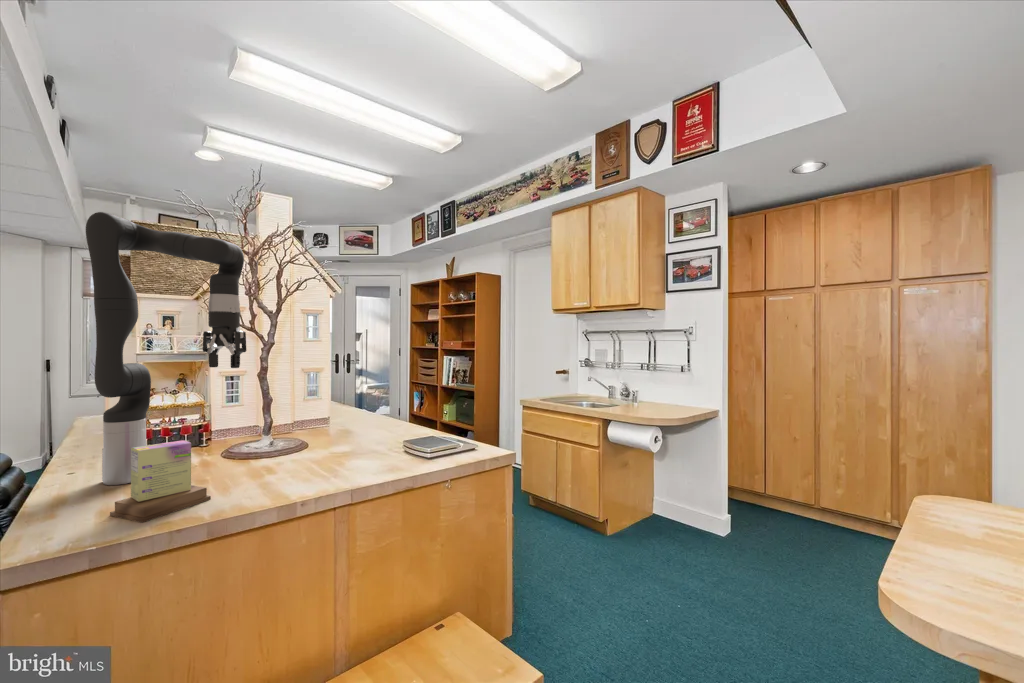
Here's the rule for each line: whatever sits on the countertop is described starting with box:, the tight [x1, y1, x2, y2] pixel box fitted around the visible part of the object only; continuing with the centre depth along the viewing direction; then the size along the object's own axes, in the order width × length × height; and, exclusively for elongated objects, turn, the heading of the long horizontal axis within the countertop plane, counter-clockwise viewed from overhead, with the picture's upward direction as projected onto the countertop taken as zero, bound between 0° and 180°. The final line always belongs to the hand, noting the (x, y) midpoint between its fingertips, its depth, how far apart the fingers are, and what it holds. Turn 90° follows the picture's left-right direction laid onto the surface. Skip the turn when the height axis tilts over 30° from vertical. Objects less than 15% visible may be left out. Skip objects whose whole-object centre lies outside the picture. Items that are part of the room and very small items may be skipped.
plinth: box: [109, 484, 212, 523], centre depth 106 cm, size 11×15×3 cm
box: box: [130, 439, 192, 502], centre depth 106 cm, size 10×6×12 cm, turn 144°
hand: (224, 367), depth 126 cm, fingers open, 8 cm apart
